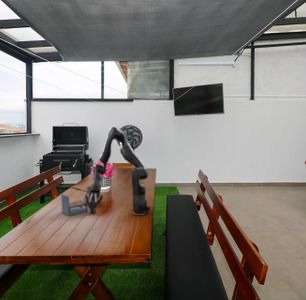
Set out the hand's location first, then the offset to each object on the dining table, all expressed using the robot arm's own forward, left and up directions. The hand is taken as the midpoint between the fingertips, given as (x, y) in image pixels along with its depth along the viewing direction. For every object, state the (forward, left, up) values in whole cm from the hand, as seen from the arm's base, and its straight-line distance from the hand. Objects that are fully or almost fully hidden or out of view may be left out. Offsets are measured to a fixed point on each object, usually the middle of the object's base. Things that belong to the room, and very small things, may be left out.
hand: (92, 207), depth 184 cm
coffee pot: (-7, -26, -5) cm, 28 cm away
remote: (-1, -1, -4) cm, 5 cm away
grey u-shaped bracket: (+7, -13, -4) cm, 16 cm away
